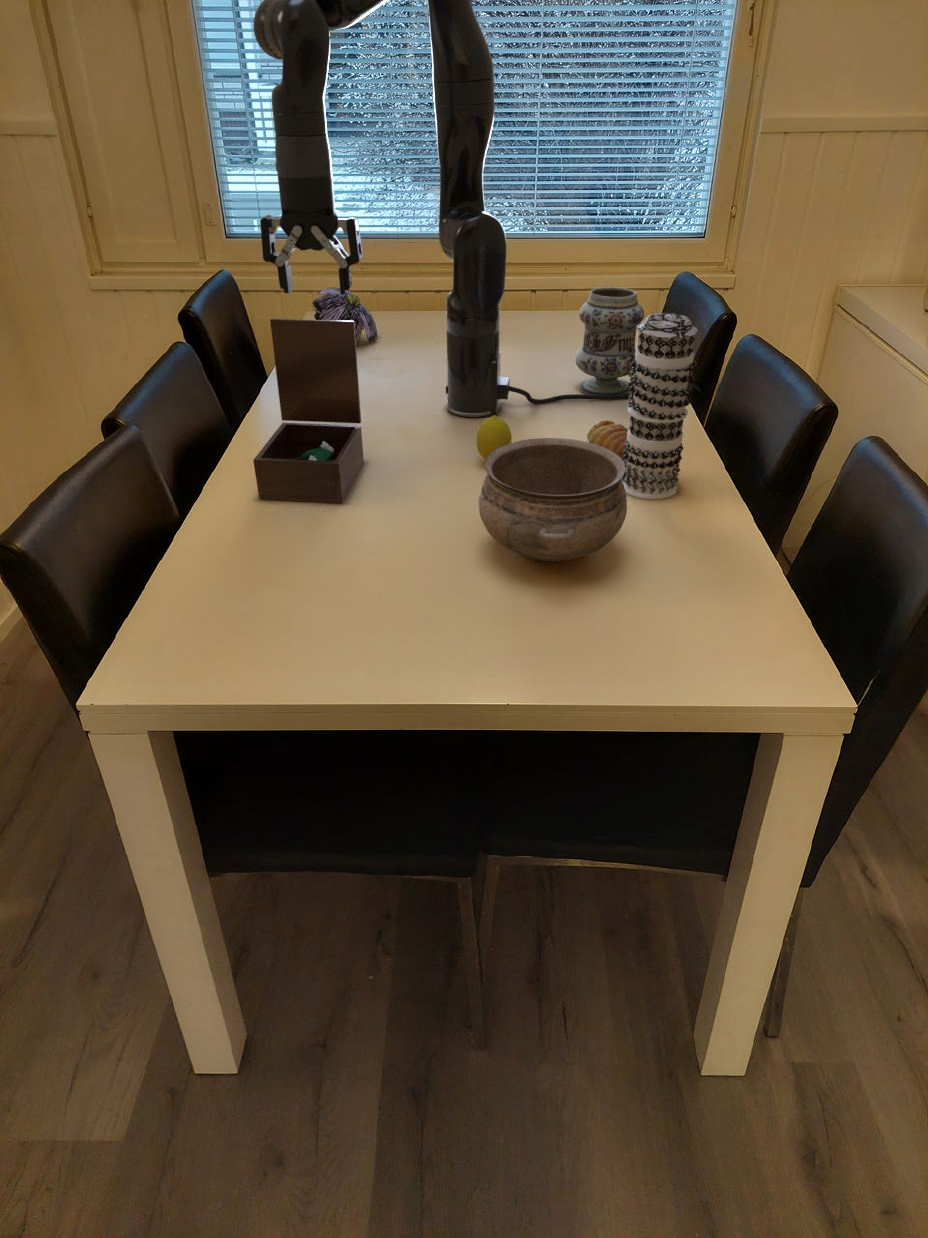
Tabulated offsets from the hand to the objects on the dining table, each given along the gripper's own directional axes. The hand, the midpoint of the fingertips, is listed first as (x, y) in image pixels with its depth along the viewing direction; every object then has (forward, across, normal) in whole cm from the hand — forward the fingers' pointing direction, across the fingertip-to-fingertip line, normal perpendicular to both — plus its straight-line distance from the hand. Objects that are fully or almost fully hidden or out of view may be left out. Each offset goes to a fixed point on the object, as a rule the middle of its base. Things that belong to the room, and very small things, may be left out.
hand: (316, 292), depth 131 cm
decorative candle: (+25, -51, +8) cm, 57 cm away
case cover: (+11, 0, +4) cm, 11 cm away
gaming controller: (+24, 0, +11) cm, 27 cm away
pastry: (+25, -46, -6) cm, 53 cm away
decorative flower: (+25, +12, -62) cm, 68 cm away
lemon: (+25, -27, +2) cm, 37 cm away
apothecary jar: (+25, -45, -35) cm, 62 cm away
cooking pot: (+25, -37, +29) cm, 54 cm away
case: (+25, 0, +11) cm, 28 cm away
